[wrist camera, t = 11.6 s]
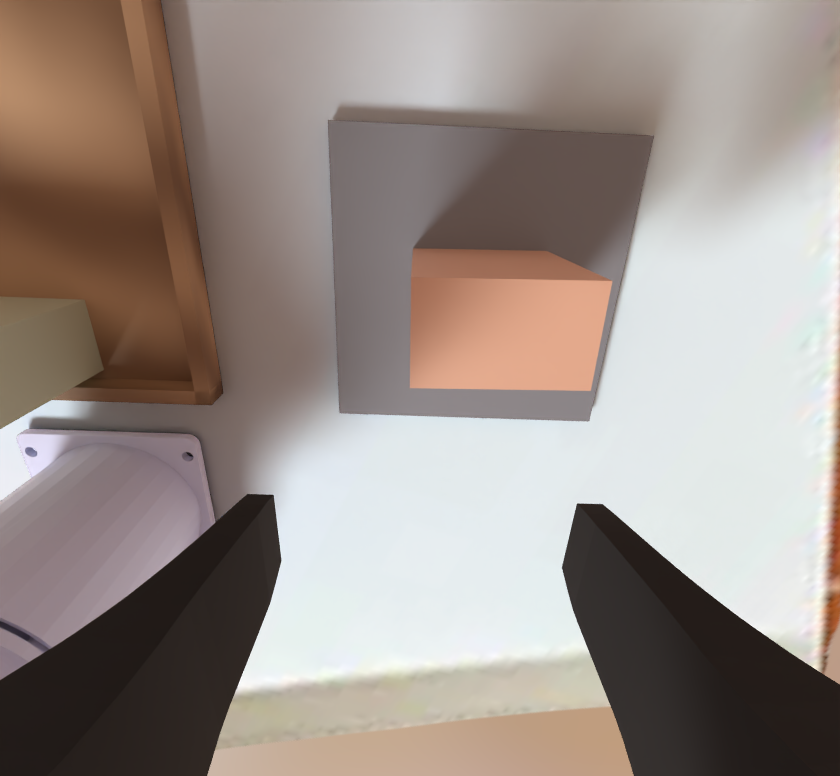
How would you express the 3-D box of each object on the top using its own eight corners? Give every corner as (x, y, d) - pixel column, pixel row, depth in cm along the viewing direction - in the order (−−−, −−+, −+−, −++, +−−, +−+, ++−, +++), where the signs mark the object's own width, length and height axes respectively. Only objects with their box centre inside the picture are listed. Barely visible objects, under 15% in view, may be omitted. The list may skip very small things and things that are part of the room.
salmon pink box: (536, 328, 18) (590, 390, 12) (412, 326, 17) (409, 388, 12) (546, 250, 16) (612, 280, 11) (413, 248, 16) (411, 277, 11)
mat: (584, 415, 20) (589, 421, 19) (341, 407, 20) (339, 413, 19) (645, 137, 15) (654, 135, 15) (331, 122, 15) (328, 119, 15)
